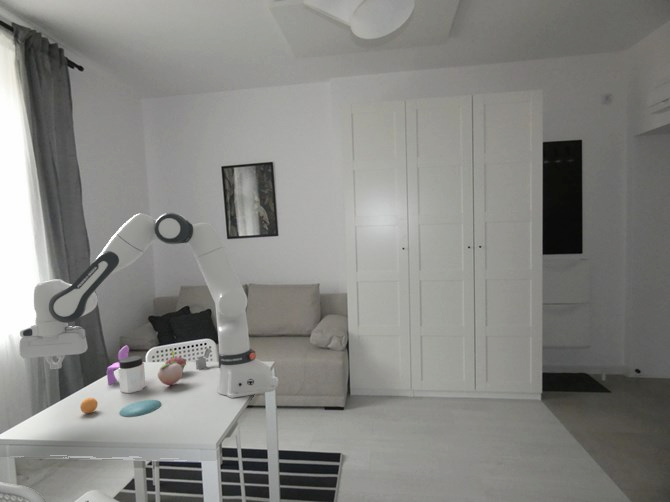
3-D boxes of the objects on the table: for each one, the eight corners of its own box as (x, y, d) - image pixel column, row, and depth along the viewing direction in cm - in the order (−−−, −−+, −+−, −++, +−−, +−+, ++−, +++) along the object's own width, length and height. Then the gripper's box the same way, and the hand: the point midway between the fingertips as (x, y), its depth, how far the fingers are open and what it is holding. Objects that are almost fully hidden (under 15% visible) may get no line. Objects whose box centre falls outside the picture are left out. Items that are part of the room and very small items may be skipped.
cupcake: (182, 377, 168) (179, 348, 167) (162, 378, 168) (159, 350, 167) (189, 370, 176) (187, 343, 176) (170, 371, 176) (168, 344, 176)
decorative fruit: (173, 390, 153) (171, 364, 152) (155, 389, 155) (153, 364, 154) (188, 381, 162) (186, 357, 161) (171, 380, 164) (169, 356, 163)
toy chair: (116, 379, 171) (113, 344, 170) (136, 377, 171) (134, 342, 170) (105, 386, 162) (102, 350, 162) (127, 384, 163) (124, 348, 162)
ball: (101, 408, 140) (99, 394, 139) (93, 415, 135) (91, 400, 134) (86, 410, 139) (84, 396, 139) (77, 416, 134) (76, 401, 134)
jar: (121, 395, 151) (118, 363, 151) (119, 389, 158) (116, 359, 158) (147, 389, 156) (144, 358, 156) (144, 383, 163) (141, 354, 163)
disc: (166, 398, 145) (166, 398, 145) (152, 414, 132) (152, 414, 132) (129, 402, 144) (129, 401, 144) (111, 418, 131) (111, 417, 131)
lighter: (198, 369, 176) (197, 351, 176) (196, 369, 177) (194, 351, 177) (212, 364, 182) (210, 347, 182) (209, 364, 183) (208, 347, 183)
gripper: (89, 323, 139) (92, 363, 140) (27, 328, 138) (31, 367, 138) (79, 327, 133) (82, 369, 133) (14, 332, 131) (18, 373, 132)
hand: (56, 368), depth 136 cm, fingers closed
